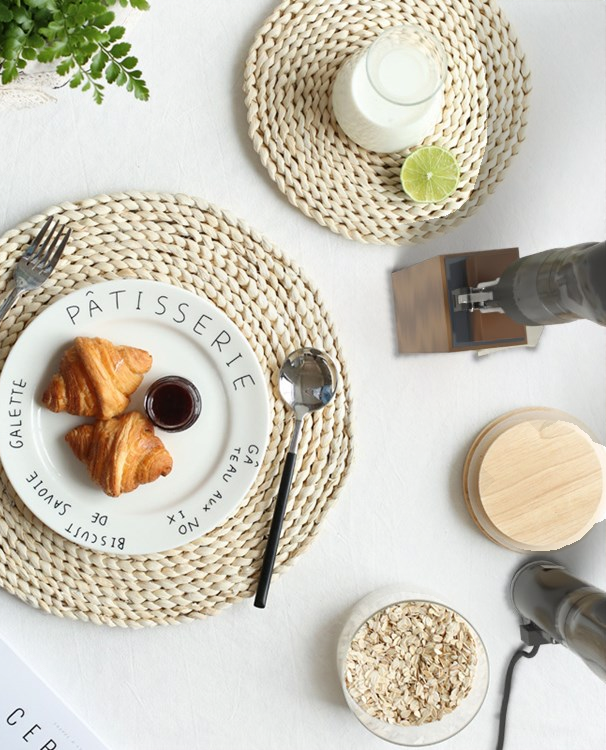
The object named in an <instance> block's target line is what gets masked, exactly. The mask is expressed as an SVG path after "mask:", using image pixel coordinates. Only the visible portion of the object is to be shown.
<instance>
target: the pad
mask: <svg viewBox="0 0 606 750" xmlns="http://www.w3.org/2000/svg"><path fill="white" fill-rule="evenodd" d="M514 252H516V251H514ZM504 253H508V252H504ZM493 254H498V253H493ZM483 255H487V254H483ZM516 255H517V252H516ZM473 256H477V255H473ZM473 256H463V257H453V258H444V264H445V274H446V285H447V295H448V305H449V316H450V326H451V336H452V347H453V348H461V347H471V346H480V345H490V344H499V343H509V342H518V341H525V337H519V338H509V339H500V340H491V341H479V342H469V333H468V323H467V312H466V311H461V313H457V312H454V308H453V298H452V291H454V290H455V289H459V288H462V287H463V286H464V281H463V271H462V260H464V259H467V258H470V257H473ZM523 329H524V326H523Z"/></svg>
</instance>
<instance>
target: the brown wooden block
mask: <svg viewBox="0 0 606 750" xmlns="http://www.w3.org/2000/svg"><path fill="white" fill-rule="evenodd" d="M515 260H517V255H516V252H508V253H498V254H487V255H477V256H473V257H470V258H467V259H464V260H462V271H463V281H464V286H467V287H470V288H471V287H472V288H473V289H475V288H477V286H478V284H479V283H484V282H490V281H495V280H496V279H497V278H500V277H501V275H502V273H503V272H504V270H505V269H506V268H507V267H508V265H510V264H511V263H512V262H513V261H515ZM477 305H479V302H477ZM493 307H500V306H493ZM466 312H467V323H468V333H469V342H479V341H491V340H500V339H509V338H519V337H524V329H523V325H521V324H519V323H517V322H515V321H513V320H512V319H510V318H509V317H508V316H507V315H506V314H505V313H499V312H489V313H481V312H480V310H479V309H478V310H475V311H472V312H470V311H466Z"/></svg>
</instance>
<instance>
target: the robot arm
mask: <svg viewBox="0 0 606 750" xmlns="http://www.w3.org/2000/svg"><path fill="white" fill-rule="evenodd" d="M452 298H453V308H454V312H457V313H461V311H470V312H472V311H475V310H478V309H479V310H480V312H481V313H489V312H499V313H505V314H506V315H507V316H508V317H509V318H510V319H512V320H513V321H515V322H517V323H519V324H521V325H525V326H544V327H545V326H553V325H564V324H569V323H573V322H577V321H579V320H587V321H589V322H592V323H594V324H597V325H598V326H600V327H605V328H606V240H603V241H587V242H581V243H577V244H573V245H569V246H566V247H554V248H549V249H546V250H543V251H538V252H536V253H532V254H528V255H524V256H522V257H520V258H519V259H517V260H515V261H513V262H512V263H511V264H510V265H508V267H507V268H506V269H505V270H504V272H503V273H502V275H501V277H500V278H497V279H496V280H495V281H490V282H484V283H479V284H478V286H477V288H475V289H473V288H472V287H471V288H470V287H467V286H463V287H462V288H459V289H455V290H454V291H452ZM477 302H479V305H477ZM493 306H500V307H493ZM566 569H567V567H565V566H563V565H558V564H556V563H554V562H551V561H548V560H540V559H539V560H533V561H530V562H528V563H526V564H525V565H523V566H522V567H520V568H519V569H518V571H517V572H515V574H514V576H513V578H512V579H511V584H510V588H509V596H510V601H511V604H512V606H513V608H514V609H515V611H516V612H517V613H518V615H520V616H521V618H522V623H523V624H519V634H520V640H521V641H522V642H523V643H524V644H525V645H527V646H528V647H532V649H531V650H530V651H529V652H528V651H526V650H523V649H522V650H518V651H517V652H516V653H515V654H513V656H512V658H511V660H510V661H509V664H508V667H507V670H506V675H505V679H504V680H505V681H504V689H503V697H502V703H501V707H500V714H499V725H498V726H499V727H498V739H497V746H496V750H503V749H504V742H505V733H506V719H507V712H508V706H509V701H510V694H511V685H512V678H513V672H514V669H515V666H516V664H517V662H518V661H519V660H520V659H521V658H522V657H524V658H525V659H532V658H535V657H536V655H538V652H539V650H540V647H541V646H544V645H561V646H562V647H564V648H566V649H567V650H568V651H570V652H571V653H573V655H575V656H577V657H578V658H579V659H580V660H581V661H582V662H583V663H584V664H585V665H586V667H587V668H588V669H589V671H591V673H592V674H594V675H595V676H596V677H597V678H598V679H600V680H601V681H602V682H603V683H604V684H606V591H605V590H603V589H601V588H599V587H597V586H596V585H594V584H592V583H590V582H588V581H586V580H585V579H582V578H580V577H579V576H577V575H576V574H573V573H571V572H569V571H568V570H566Z"/></svg>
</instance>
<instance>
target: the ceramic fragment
mask: <svg viewBox="0 0 606 750" xmlns="http://www.w3.org/2000/svg"><path fill="white" fill-rule="evenodd" d="M544 328H545V325H544V326H526V331H527V342H528V344H527V345H518V346H509V347H499V348H490V349H480V350H475V351H476V355H477V357H481V356H485V355H489V354H492V353H495V352H499V351H503V350H507V349H514V348H522V347H527V348H536V347H537V345H538V342H539V340H540V339H541V337H542V335H543V331H544Z"/></svg>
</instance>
